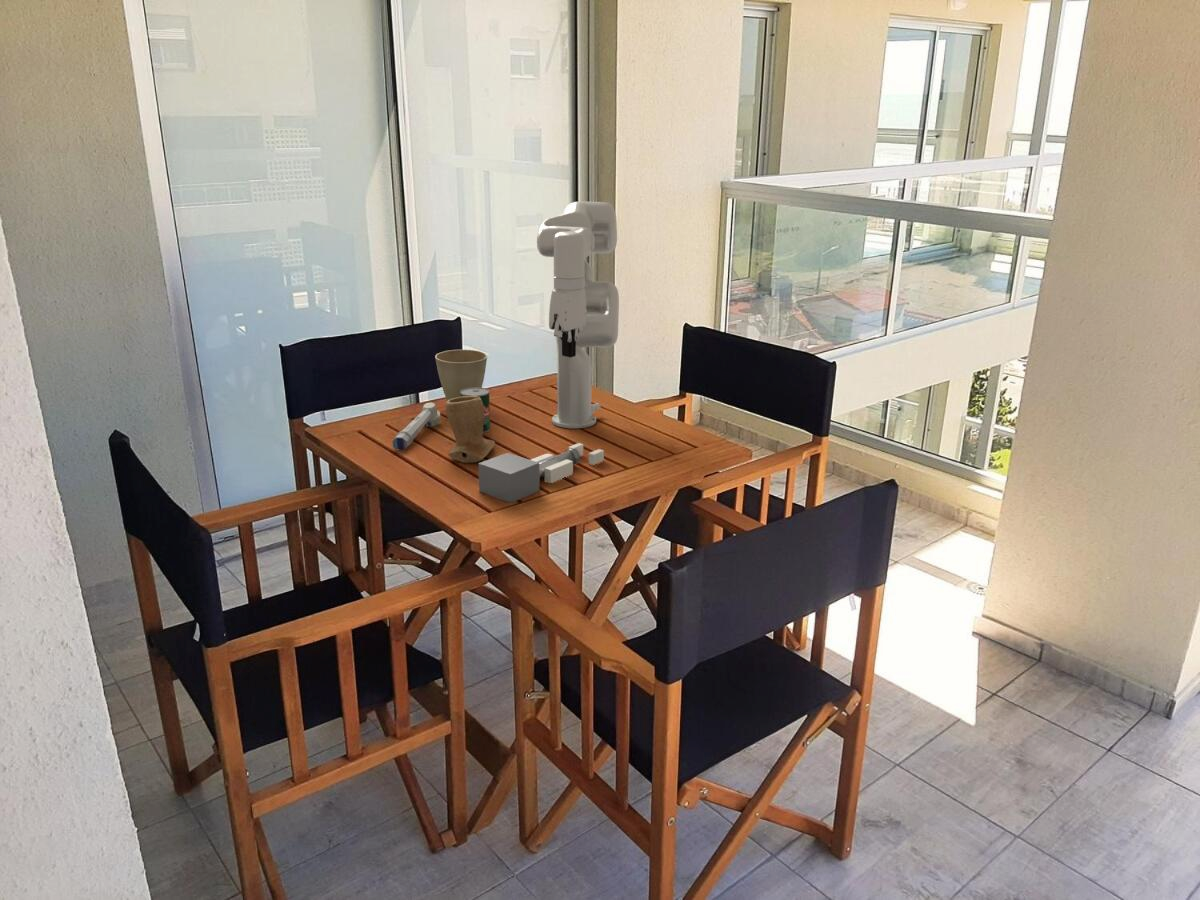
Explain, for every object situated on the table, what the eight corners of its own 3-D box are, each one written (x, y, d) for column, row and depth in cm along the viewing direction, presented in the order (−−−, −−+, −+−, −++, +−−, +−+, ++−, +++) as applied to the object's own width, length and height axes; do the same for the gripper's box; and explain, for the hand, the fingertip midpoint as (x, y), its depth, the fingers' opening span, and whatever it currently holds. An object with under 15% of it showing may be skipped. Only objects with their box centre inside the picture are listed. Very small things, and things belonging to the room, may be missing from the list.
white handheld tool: (388, 436, 242) (424, 396, 263) (391, 459, 245) (426, 417, 266) (407, 438, 241) (441, 398, 262) (410, 460, 244) (443, 419, 265)
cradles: (578, 453, 242) (578, 441, 241) (603, 461, 237) (603, 448, 236) (525, 475, 228) (525, 461, 227) (550, 483, 223) (550, 470, 222)
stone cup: (456, 443, 249) (454, 388, 244) (499, 446, 247) (498, 391, 242) (436, 462, 235) (434, 405, 230) (482, 466, 233) (480, 409, 228)
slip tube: (567, 461, 236) (568, 446, 235) (580, 465, 234) (580, 450, 232) (500, 488, 219) (500, 472, 217) (512, 493, 216) (512, 477, 215)
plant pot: (428, 412, 273) (425, 358, 268) (452, 398, 286) (450, 347, 281) (474, 418, 268) (472, 364, 263) (496, 404, 282) (495, 352, 276)
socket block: (508, 480, 225) (507, 452, 222) (539, 490, 219) (539, 462, 216) (479, 491, 218) (478, 463, 215) (510, 502, 212) (510, 474, 209)
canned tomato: (488, 434, 256) (487, 395, 252) (459, 433, 256) (458, 395, 252) (492, 425, 263) (491, 387, 259) (464, 424, 263) (462, 386, 259)
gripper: (575, 277, 237) (574, 347, 244) (537, 286, 226) (538, 359, 232) (599, 280, 233) (598, 352, 240) (562, 290, 222) (562, 365, 228)
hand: (568, 355), depth 236 cm, fingers closed
